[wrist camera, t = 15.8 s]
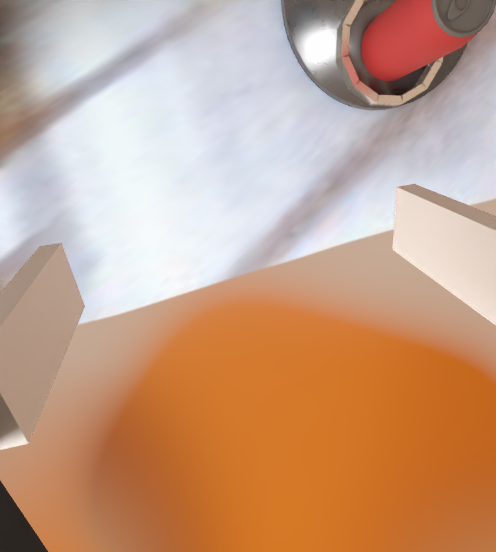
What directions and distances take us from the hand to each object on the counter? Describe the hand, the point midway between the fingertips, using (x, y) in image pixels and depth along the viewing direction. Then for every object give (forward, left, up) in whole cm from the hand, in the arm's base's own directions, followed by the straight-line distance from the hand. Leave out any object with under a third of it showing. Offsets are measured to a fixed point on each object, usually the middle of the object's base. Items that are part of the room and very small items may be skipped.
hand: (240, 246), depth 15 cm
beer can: (+9, +25, -28) cm, 38 cm away
